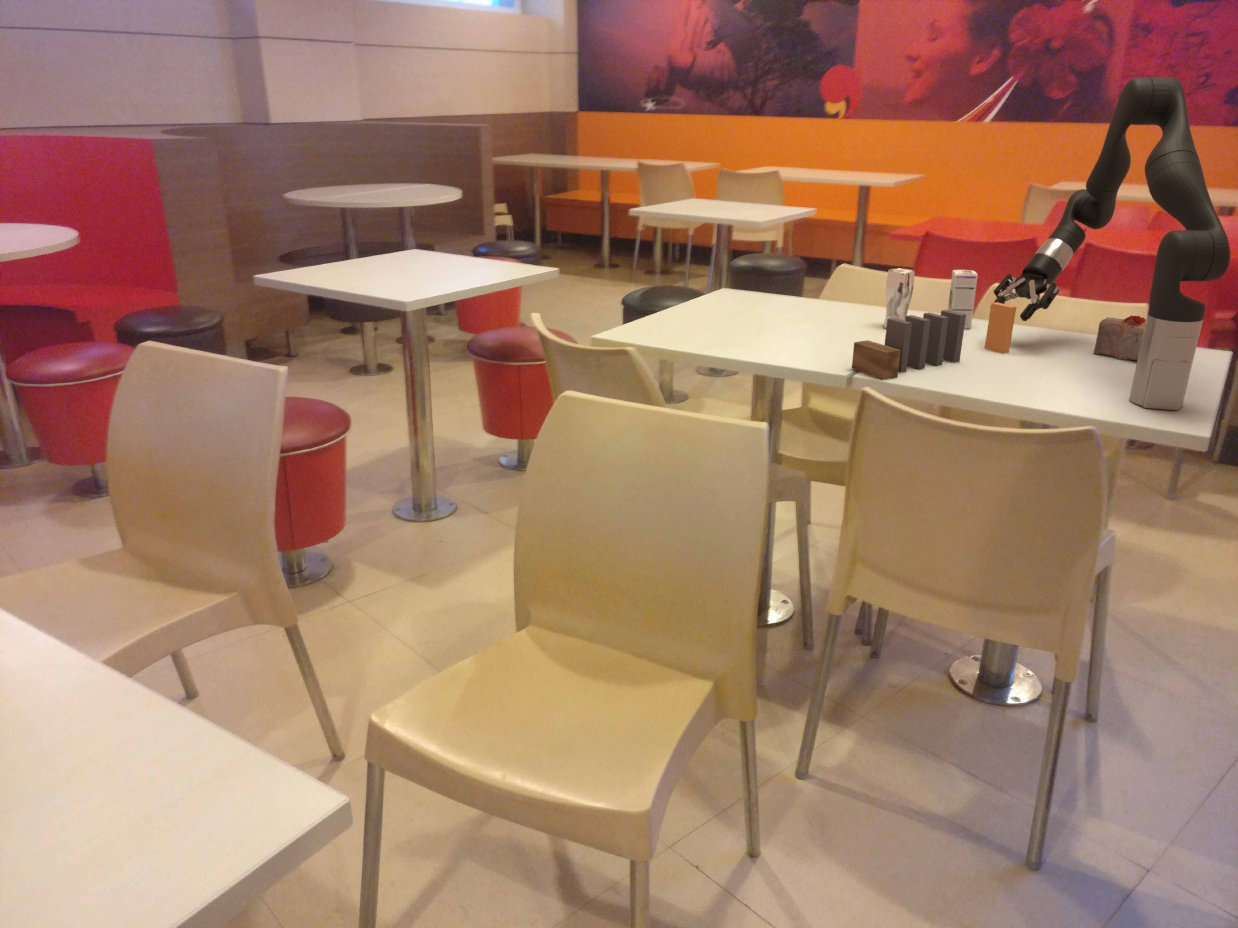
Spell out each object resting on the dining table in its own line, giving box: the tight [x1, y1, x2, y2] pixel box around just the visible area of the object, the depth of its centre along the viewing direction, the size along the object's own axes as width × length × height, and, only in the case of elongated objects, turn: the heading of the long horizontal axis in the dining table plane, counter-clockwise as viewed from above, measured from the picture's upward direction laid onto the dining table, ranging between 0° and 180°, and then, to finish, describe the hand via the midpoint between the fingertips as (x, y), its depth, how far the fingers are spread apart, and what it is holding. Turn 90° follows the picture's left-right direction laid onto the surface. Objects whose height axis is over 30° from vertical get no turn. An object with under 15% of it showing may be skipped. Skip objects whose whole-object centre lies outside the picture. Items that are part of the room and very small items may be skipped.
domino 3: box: [922, 312, 949, 367], centre depth 203 cm, size 2×6×11 cm, turn 28°
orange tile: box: [984, 302, 1017, 355], centre depth 213 cm, size 2×6×11 cm, turn 28°
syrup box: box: [947, 269, 979, 330], centre depth 235 cm, size 6×6×14 cm
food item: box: [1093, 314, 1147, 362], centre depth 207 cm, size 14×8×10 cm, turn 45°
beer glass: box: [882, 268, 915, 330], centre depth 234 cm, size 7×7×15 cm
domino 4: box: [940, 309, 966, 364], centre depth 206 cm, size 2×6×11 cm, turn 28°
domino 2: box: [905, 314, 931, 370], centre depth 201 cm, size 2×6×11 cm, turn 28°
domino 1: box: [884, 318, 912, 374], centre depth 199 cm, size 2×6×11 cm, turn 29°
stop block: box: [851, 339, 901, 380], centre depth 197 cm, size 4×10×6 cm, turn 28°
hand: (1007, 315), depth 213 cm, fingers open, 8 cm apart
